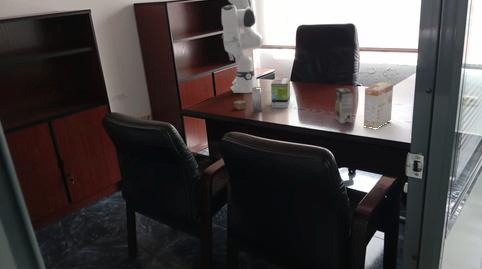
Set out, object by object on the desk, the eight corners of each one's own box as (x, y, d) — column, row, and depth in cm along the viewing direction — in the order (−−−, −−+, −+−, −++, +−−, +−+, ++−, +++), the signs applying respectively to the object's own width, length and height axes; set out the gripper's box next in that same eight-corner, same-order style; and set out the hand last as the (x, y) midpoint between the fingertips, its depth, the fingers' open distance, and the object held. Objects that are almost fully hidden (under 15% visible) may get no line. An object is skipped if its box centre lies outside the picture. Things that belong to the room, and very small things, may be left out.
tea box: (288, 108, 234) (287, 83, 229) (271, 108, 236) (270, 83, 231) (290, 101, 247) (289, 77, 242) (274, 101, 250) (273, 77, 244)
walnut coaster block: (234, 108, 240) (234, 102, 239) (241, 106, 243) (240, 100, 241) (239, 110, 236) (239, 103, 235) (246, 108, 239) (245, 101, 237)
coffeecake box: (378, 119, 205) (380, 81, 198) (391, 121, 200) (394, 83, 193) (362, 127, 196) (364, 88, 189) (376, 130, 191) (378, 90, 184)
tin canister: (251, 111, 232) (250, 87, 227) (259, 109, 234) (258, 86, 229) (255, 113, 228) (253, 89, 223) (263, 112, 229) (262, 88, 224)
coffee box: (334, 118, 211) (335, 88, 206) (346, 117, 212) (347, 87, 206) (340, 123, 203) (340, 92, 197) (352, 122, 203) (353, 91, 197)
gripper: (243, 37, 211) (246, 63, 216) (231, 33, 229) (234, 57, 234) (232, 39, 209) (235, 65, 214) (220, 35, 227) (223, 59, 232)
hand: (234, 61), depth 224 cm, fingers open, 8 cm apart
